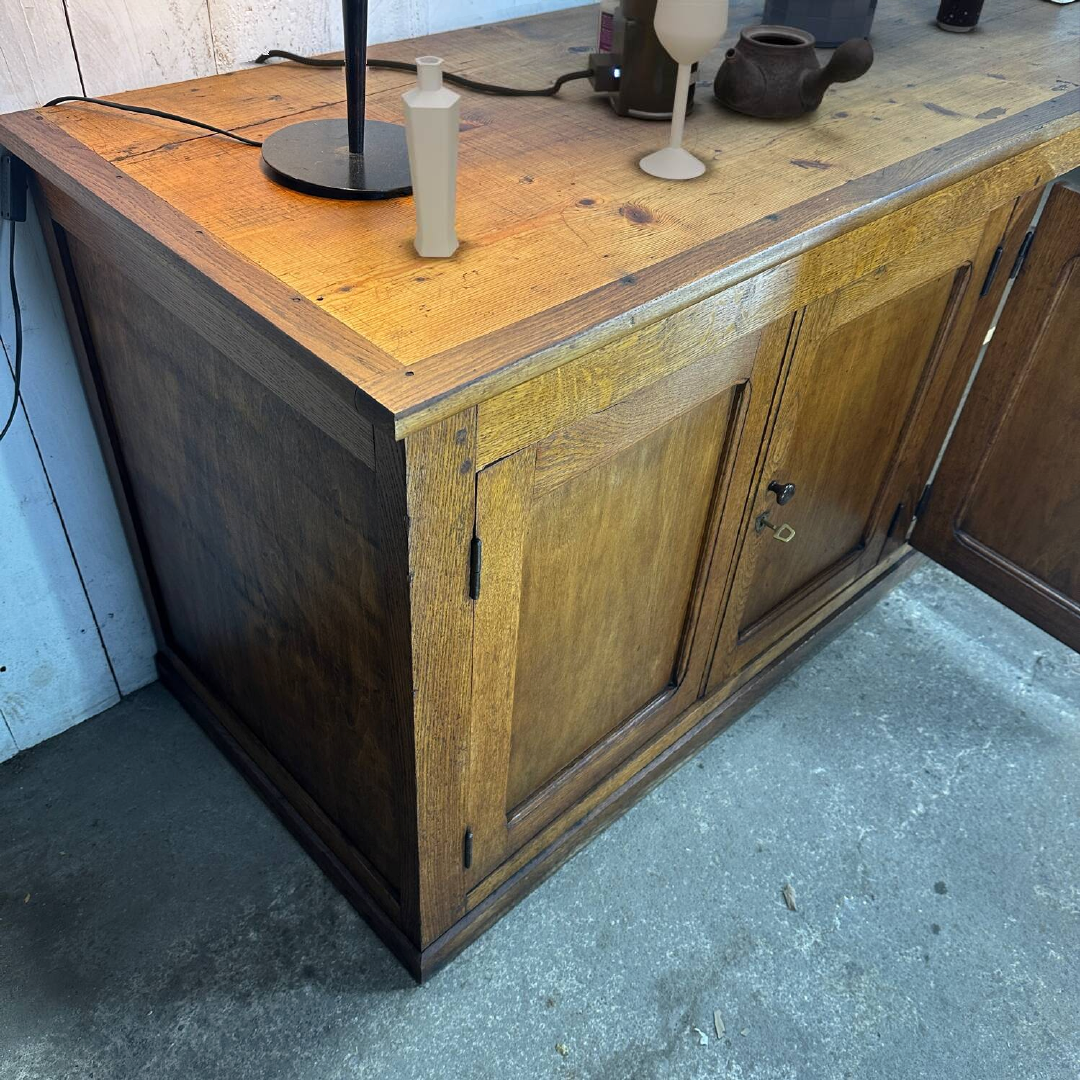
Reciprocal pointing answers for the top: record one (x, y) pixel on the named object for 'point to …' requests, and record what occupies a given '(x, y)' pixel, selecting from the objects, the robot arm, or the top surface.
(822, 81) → the teapot
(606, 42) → the pill bottle
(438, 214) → the beige faceted vase
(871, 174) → the top surface
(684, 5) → the champagne flute
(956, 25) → the beverage can
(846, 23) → the bowl
